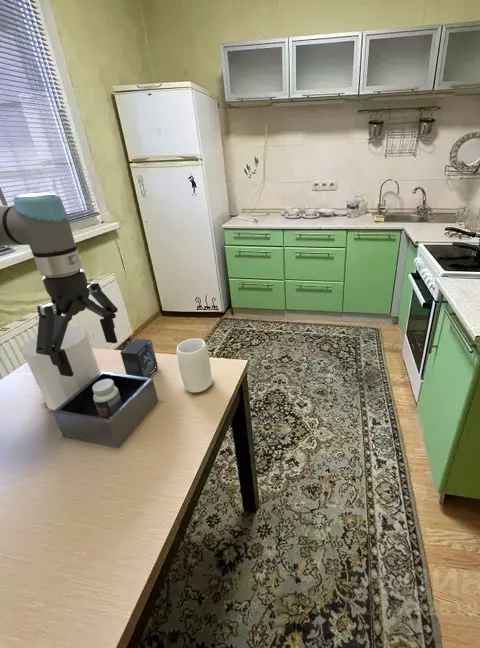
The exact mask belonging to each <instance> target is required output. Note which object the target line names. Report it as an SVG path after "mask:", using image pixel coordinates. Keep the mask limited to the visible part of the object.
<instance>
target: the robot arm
mask: <svg viewBox="0 0 480 648" xmlns="http://www.w3.org/2000/svg"><path fill="white" fill-rule="evenodd" d="M12 201H13V205H0V248H1V247H5V246H29V248H30V251H31V253H32V256H33V259H34V261H35V264H36V268H37V271H38V273H39V275H40V276H42V277H41V281H42V283H43V286H44V289H45V291H46V294H48V295H49V297H50V299H51V300H50V303H47V304H39V305H37V307H36V310H37V314H38V327H37V335H36V336H37V346H36V353H37V354H42V355H49V356H50V359H51V361H52V363H53V365H55V366H57V367H58V369H59V372H60V374H61V375H63V376H69V377H71V376H73V375H74V374H73V371H72V368H71V366H70V363H69V361H68V358H67V355H66V353H65V350H64V349H60V348H61V345H62V342H63V339H64V336H65V332H66V329H67V327H69V323H70V322H71V321H72V319H73V316H74V317H75V316H76V315H78V314H79V313H80V312H84V311H85V310H86V309H87V310H89V312H90V311H91V312H92V313H94V314H96V315H98V316H99V317H101V318H100V319H99V323H100V326H101V329H102V332H103V336H104V339H105V342H106V343H109V344H117V343H118V337H117V335H116V331H115V329H116V326H115V322H114V319H116V317H117V315H116V313H118V307H117V306H116V305H115V304H114V303H113V302H112V301H111V300H110V298H109V297H108V296H107V295H106V294H105V293H104V292H103V291H102V288H101V286H100V283H99V282H89V281H88V279H87V276H86V272H85V270H84V269H83V263H82V260H81V256H80V254H79V249H78V247H77V244H76V243H75V239H74V235H73V231H72V227H71V223H70V220H69V214H68V213H67V211H66V208H65V206H64V203H63V200H62V197H60V196H59V195H58V194H57V193H53V192H40V193H37V192H36V193H24V194H19V195H15V196H13V200H12ZM90 295H91V297H93V299H94V300H95V301H94V300H92V299H90V298H89V297H90ZM96 302H97V303H96ZM98 303H99V304H98ZM53 345H54V347H53Z"/></svg>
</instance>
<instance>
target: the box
mask: <svg viewBox="0 0 480 648" xmlns="http://www.w3.org/2000/svg"><path fill="white" fill-rule="evenodd" d="M120 357H121V360H122V364H123V366H124V371H125V375H132V376H139V377H146V378H150V377H151V375H152V374H153V373H154V372H155V371H157V369H158V368H159V366H157V365H158V362H157V361H158V360H157V358H156V354H155V348H154V345H153V340H152V339H146V338H134V340H132V341H131V342H130V343H129V344H128V345H127V346H125V347H124V348H123V349H122V350H120ZM155 367H156V368H155ZM154 369H155V370H154ZM153 370H154V371H153ZM152 371H153V372H152ZM151 372H152V373H151Z"/></svg>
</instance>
